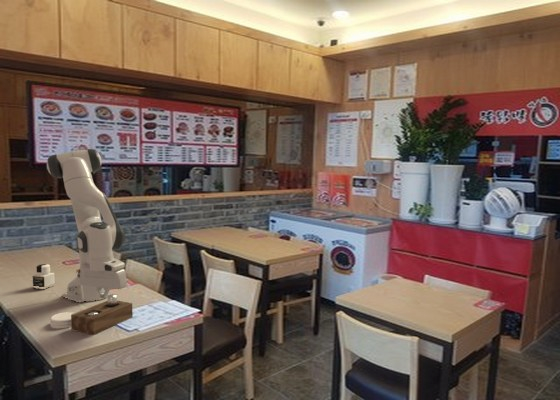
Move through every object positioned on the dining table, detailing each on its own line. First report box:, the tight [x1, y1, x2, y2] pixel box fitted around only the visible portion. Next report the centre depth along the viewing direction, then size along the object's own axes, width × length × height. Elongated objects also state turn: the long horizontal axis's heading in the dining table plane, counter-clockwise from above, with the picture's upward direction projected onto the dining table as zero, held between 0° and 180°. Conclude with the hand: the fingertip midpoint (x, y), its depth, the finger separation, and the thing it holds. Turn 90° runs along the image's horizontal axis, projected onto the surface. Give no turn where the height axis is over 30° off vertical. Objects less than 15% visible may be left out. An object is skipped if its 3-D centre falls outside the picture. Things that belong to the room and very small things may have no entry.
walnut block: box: [71, 300, 133, 336], centre depth 168 cm, size 12×20×6 cm, turn 156°
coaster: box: [49, 311, 76, 330], centre depth 167 cm, size 10×10×4 cm
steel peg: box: [107, 293, 118, 307], centre depth 172 cm, size 4×4×5 cm
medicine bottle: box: [32, 263, 56, 287], centre depth 214 cm, size 7×7×12 cm
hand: (103, 297), depth 164 cm, fingers closed
